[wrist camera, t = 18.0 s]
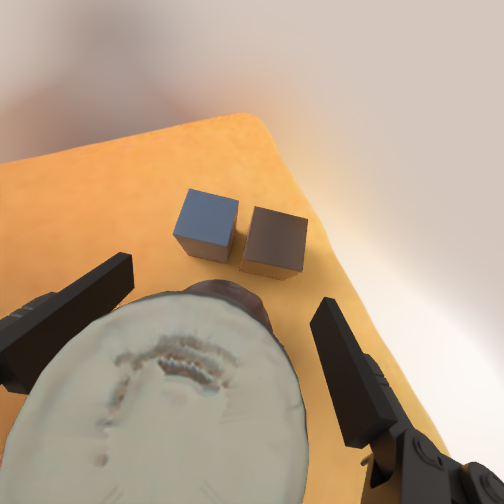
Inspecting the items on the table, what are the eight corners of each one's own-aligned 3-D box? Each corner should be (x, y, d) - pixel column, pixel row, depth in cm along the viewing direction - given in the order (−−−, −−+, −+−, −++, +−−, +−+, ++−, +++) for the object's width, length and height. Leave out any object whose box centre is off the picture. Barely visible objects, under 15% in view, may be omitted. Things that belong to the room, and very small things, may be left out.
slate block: (188, 255, 23) (172, 234, 16) (199, 220, 24) (188, 188, 18) (227, 264, 23) (227, 246, 17) (235, 229, 25) (238, 200, 18)
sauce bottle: (227, 280, 23) (228, 146, 4) (261, 319, 22) (478, 397, 3) (183, 318, 21) (-252, 430, 2) (218, 362, 20) (68, 1335, 1)
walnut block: (239, 270, 23) (243, 258, 18) (248, 228, 25) (254, 205, 19) (284, 280, 24) (302, 272, 18) (290, 238, 25) (308, 218, 20)
